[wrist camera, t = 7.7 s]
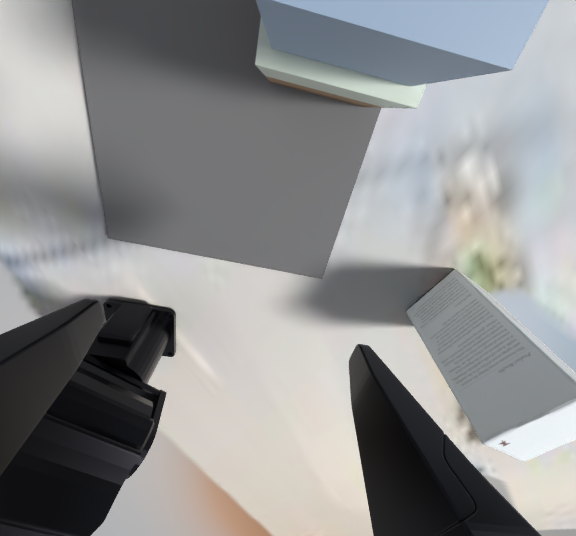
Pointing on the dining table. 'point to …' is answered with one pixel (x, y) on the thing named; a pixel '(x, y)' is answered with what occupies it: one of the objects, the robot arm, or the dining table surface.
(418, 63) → the cube
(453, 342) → the skincare box
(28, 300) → the dining table surface
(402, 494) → the robot arm
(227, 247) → the placemat
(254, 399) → the dining table surface
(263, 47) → the tower mid
